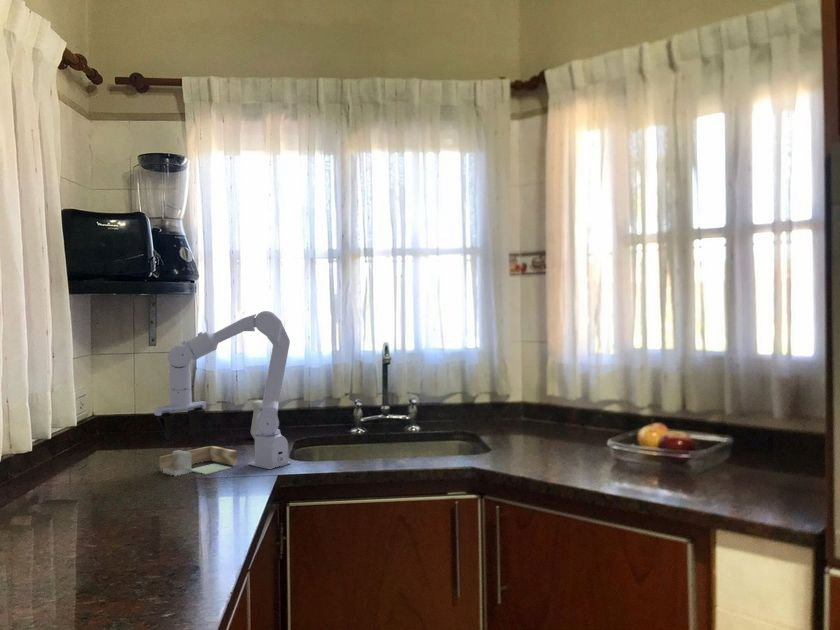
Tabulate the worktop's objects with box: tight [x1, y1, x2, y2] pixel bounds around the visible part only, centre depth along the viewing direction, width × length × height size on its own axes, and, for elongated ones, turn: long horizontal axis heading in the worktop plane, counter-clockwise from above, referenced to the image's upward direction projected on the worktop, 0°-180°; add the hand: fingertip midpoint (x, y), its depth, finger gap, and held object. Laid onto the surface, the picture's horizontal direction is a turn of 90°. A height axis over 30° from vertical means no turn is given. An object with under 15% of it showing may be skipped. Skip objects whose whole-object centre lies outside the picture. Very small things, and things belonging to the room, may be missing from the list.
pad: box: [192, 463, 232, 476], centre depth 175 cm, size 8×8×1 cm
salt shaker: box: [250, 399, 263, 440], centre depth 217 cm, size 6×6×13 cm
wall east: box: [158, 445, 212, 472], centre depth 180 cm, size 1×16×4 cm, turn 143°
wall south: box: [209, 445, 238, 466], centre depth 183 cm, size 12×1×4 cm, turn 52°
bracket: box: [162, 449, 193, 477], centre depth 173 cm, size 6×5×6 cm
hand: (181, 437), depth 174 cm, fingers open, 7 cm apart
